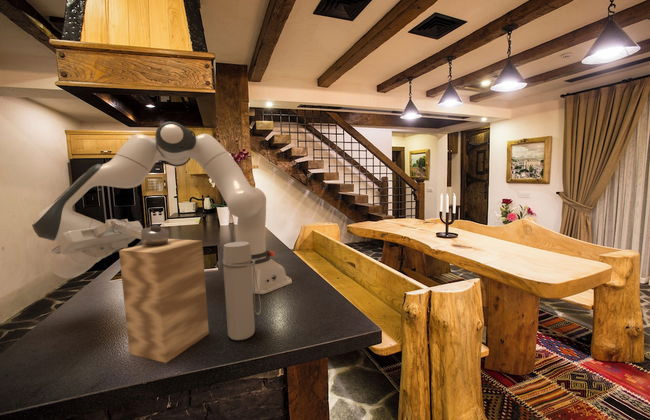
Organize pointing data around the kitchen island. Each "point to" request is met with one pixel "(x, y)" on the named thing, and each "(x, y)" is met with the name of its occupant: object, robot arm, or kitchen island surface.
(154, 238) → the ratchet wrench
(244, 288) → the water bottle
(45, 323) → the kitchen island surface
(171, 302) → the wooden block
